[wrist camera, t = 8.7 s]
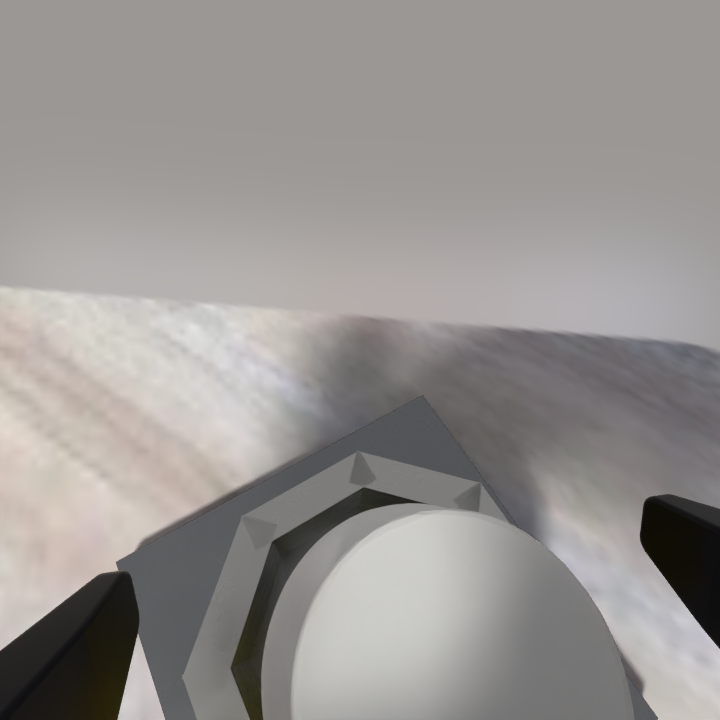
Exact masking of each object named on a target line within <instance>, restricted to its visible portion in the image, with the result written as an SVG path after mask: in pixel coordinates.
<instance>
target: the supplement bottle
mask: <svg viewBox="0 0 720 720" xmlns="http://www.w3.org/2000/svg"><path fill="white" fill-rule="evenodd" d="M261 698H262V712H263V720H635V719H634V712H633V704H632V699H631V694H630V690H629V686H628V682H627V677H626V672H625V669H624V666H623V663H622V660H621V657H620V654H619V651H618V649H617V646H616V643H615V641H614V639H613V637H612V634H611V632H610V630H609V628H608V626H607V624H606V622H605V620H604V618H603V616H602V614H601V612H600V611H599V609H598V608H597V606H596V605H595V603H594V602H593V600H592V598H591V597H590V595H589V594H588V592H587V591H586V589H585V588H584V587H583V586H582V584H581V583H580V582H579V581H578V580H577V578H576V577H575V576H574V575H573V573H572V572H571V571H570V570H569V569H568V567H567V566H566V565H565V564H564V563H563V562H562V561H561V560H560V559H559V558H558V557H557V556H556V555H554V554H553V553H552V552H551V551H550V550H549V549H547V548H546V547H545V546H544V545H543V544H541V543H540V542H538V541H537V540H536V539H534V538H533V537H532V536H530V535H529V534H528V533H526V532H524V531H522V530H521V529H519V528H517V527H515V526H514V525H512V524H509V523H507V522H505V521H503V520H501V519H498V518H495V517H492V516H490V515H487V514H483V513H480V512H475V511H469V510H462V509H455V508H444V507H440V506H436V505H429V504H419V503H406V504H395V505H389V506H383V507H379V508H375V509H371V510H368V511H364V512H362V513H360V514H357V515H355V516H353V517H351V518H349V519H347V520H346V521H344V522H342V523H341V524H339V525H338V526H336V527H335V528H333V529H332V530H330V531H329V532H328V533H327V534H325V535H324V536H323V537H322V538H321V539H320V540H318V541H317V542H316V543H315V544H314V545H313V546H312V548H311V549H310V550H309V551H308V552H307V553H306V554H305V556H304V557H303V558H302V559H301V560H300V562H299V563H298V565H297V566H296V568H295V569H294V571H293V572H292V574H291V575H290V577H289V579H288V580H287V582H286V584H285V586H284V588H283V590H282V592H281V594H280V596H279V599H278V601H277V604H276V606H275V609H274V612H273V615H272V618H271V621H270V624H269V628H268V632H267V637H266V641H265V647H264V653H263V660H262V672H261Z"/></svg>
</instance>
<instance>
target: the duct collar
mask: <svg viewBox="0 0 720 720" xmlns="http://www.w3.org/2000/svg"><path fill="white" fill-rule="evenodd" d="M406 503H419V504H429V505H436V506H440V507H444V508H455V509H462V510H469V511H475V512H480V513H483V514H487V515H490V516H492V517H495V518H498V519H501V520H503V521H505V522H507V523H509V524H512V525H514V526H515V527H517V528H519V527H518V525H517V524H516V522H515V521H514V520H513V518H512V517H511V516H510V514H509V513H508V511H507V510H506V509H505V507H504V506H503V505H502V503H501V502H500V501H499V499H498V498H497V496H496V495H495V494H494V492H493V491H492V490H491V488H490V487H489V485H488V484H487V483H486V481H485V480H484V479H483V477H482V476H481V474H480V473H479V472H478V470H477V469H476V468H475V466H474V465H473V463H472V462H471V461H470V459H469V458H468V457H467V455H466V454H465V452H464V451H463V450H462V448H461V447H460V446H459V444H458V443H457V441H456V440H455V439H454V437H453V436H452V435H451V433H450V432H449V431H448V429H447V428H446V426H445V425H444V424H443V422H442V421H441V420H440V418H439V417H438V415H437V414H436V413H435V411H434V410H433V409H432V407H431V406H430V404H429V403H428V402H427V400H426V399H425V398H424V396H423V395H422V396H420V397H418V398H416V399H415V400H413V401H411V402H409V403H407V404H405V405H404V406H402V407H400V408H398V409H396V410H394V411H393V412H391V413H389V414H387V415H385V416H383V417H382V418H380V419H378V420H376V421H374V422H372V423H371V424H369V425H367V426H365V427H363V428H361V429H359V430H358V431H356V432H354V433H352V434H350V435H348V436H347V437H345V438H343V439H341V440H339V441H337V442H336V443H334V444H332V445H330V446H328V447H326V448H325V449H323V450H321V451H319V452H317V453H315V454H314V455H312V456H310V457H308V458H306V459H304V460H303V461H301V462H299V463H297V464H295V465H293V466H291V467H290V468H288V469H286V470H284V471H282V472H280V473H279V474H277V475H275V476H273V477H271V478H269V479H268V480H266V481H264V482H262V483H260V484H258V485H257V486H255V487H253V488H251V489H249V490H247V491H246V492H244V493H242V494H240V495H238V496H236V497H235V498H233V499H231V500H229V501H227V502H225V503H223V504H222V505H220V506H218V507H216V508H214V509H212V510H211V511H209V512H207V513H205V514H203V515H201V516H200V517H198V518H196V519H194V520H192V521H190V522H189V523H187V524H185V525H183V526H181V527H179V528H178V529H176V530H174V531H172V532H170V533H168V534H167V535H165V536H163V537H161V538H159V539H157V540H155V541H154V542H152V543H150V544H148V545H146V546H144V547H143V548H141V549H139V550H137V551H135V552H133V553H132V554H130V555H128V556H126V557H124V558H122V559H121V560H119V561H117V562H116V564H117V567H118V570H119V571H122V570H125V571H127V572H129V573H130V575H131V577H132V581H133V586H134V590H135V595H136V600H137V604H138V609H139V616H140V621H139V629H138V634H139V637H140V640H141V643H142V647H143V650H144V653H145V656H146V659H147V663H148V666H149V669H150V672H151V675H152V678H153V682H154V685H155V688H156V691H157V694H158V697H159V701H160V704H161V707H162V710H163V713H164V716H165V720H263V712H262V698H261V672H262V660H263V653H264V647H265V641H266V637H267V632H268V628H269V624H270V621H271V618H272V615H273V612H274V609H275V606H276V604H277V601H278V599H279V596H280V594H281V592H282V590H283V588H284V586H285V584H286V582H287V580H288V579H289V577H290V575H291V574H292V572H293V571H294V569H295V568H296V566H297V565H298V563H299V562H300V560H301V559H302V558H303V557H304V556H305V554H306V553H307V552H308V551H309V550H310V549H311V548H312V546H313V545H314V544H315V543H316V542H317V541H318V540H320V539H321V538H322V537H323V536H324V535H325V534H327V533H328V532H329V531H330V530H332V529H333V528H335V527H336V526H338V525H339V524H341V523H342V522H344V521H346V520H347V519H349V518H351V517H353V516H355V515H357V514H360V513H362V512H364V511H368V510H371V509H375V508H379V507H383V506H389V505H395V504H406ZM519 529H520V528H519ZM626 677H627V682H628V686H629V690H630V694H631V699H632V704H633V712H634V719H635V720H657V719H658V717H657V716H656V715H655V713H654V712H653V711H652V709H651V708H650V706H649V705H648V704H647V702H646V701H645V700H644V698H643V697H642V695H641V694H640V693H639V691H638V690H637V689H636V687H635V686H634V684H633V683H632V682H631V680H630V679H629V678H628V676H627V675H626Z"/></svg>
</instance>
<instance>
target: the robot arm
mask: <svg viewBox="0 0 720 720" xmlns="http://www.w3.org/2000/svg"><path fill="white" fill-rule="evenodd" d="M640 541H641V544H642V546H643V548H644V550H645V552H646V553H647V554H648V556H649V557H650V558H651V560H652V561H653V562H654V564H655V565H656V567H657V568H658V569H659V571H660V572H661V573H662V575H663V576H664V577H665V579H666V580H667V581H668V583H669V584H670V585H671V587H672V588H673V589H674V591H675V592H676V594H677V595H678V596H679V598H680V599H681V600H682V602H683V603H684V604H685V606H686V607H687V608H688V610H689V611H690V612H691V614H692V615H693V616H694V618H695V619H696V620H697V622H698V623H699V624H700V626H701V627H702V628H703V629H704V631H705V632H706V633H707V634H708V635H709V637H710V638H711V639H712V640H713V641H714V643H715V644H716V645H717V646H718V647H719V648H720V509H718V508H715V507H711V506H708V505H705V504H701V503H698V502H695V501H691V500H688V499H685V498H681V497H678V496H675V495H670V494H666V495H658V496H651V497H649V498H647V499H646V501H645V502H644V505H643V513H642V521H641V530H640ZM139 621H140V616H139V609H138V604H137V600H136V595H135V590H134V586H133V581H132V577H131V575H130V573H129V572H127V571H125V570H122V571H115V572H108V573H102V574H99V575H98V576H96V577H95V578H94V579H92V580H91V581H90V582H88V583H87V584H86V585H85V586H83V587H82V588H81V589H79V590H78V591H77V592H76V593H74V594H73V595H72V596H70V597H69V598H68V599H66V600H65V601H64V602H63V603H61V604H60V605H59V606H57V607H56V608H55V609H54V610H52V611H51V612H50V613H48V614H47V615H46V616H45V617H43V618H42V619H41V620H39V621H38V622H37V623H35V624H34V625H33V626H32V627H30V628H29V629H28V630H26V631H25V632H24V633H23V634H21V635H20V636H19V637H17V638H16V639H15V640H14V641H12V642H11V643H10V644H8V645H7V646H6V647H4V648H3V649H2V650H1V651H0V720H117V719H118V714H119V710H120V706H121V702H122V697H123V693H124V689H125V685H126V680H127V676H128V672H129V668H130V663H131V659H132V655H133V651H134V647H135V642H136V638H137V634H138V629H139Z"/></svg>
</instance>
